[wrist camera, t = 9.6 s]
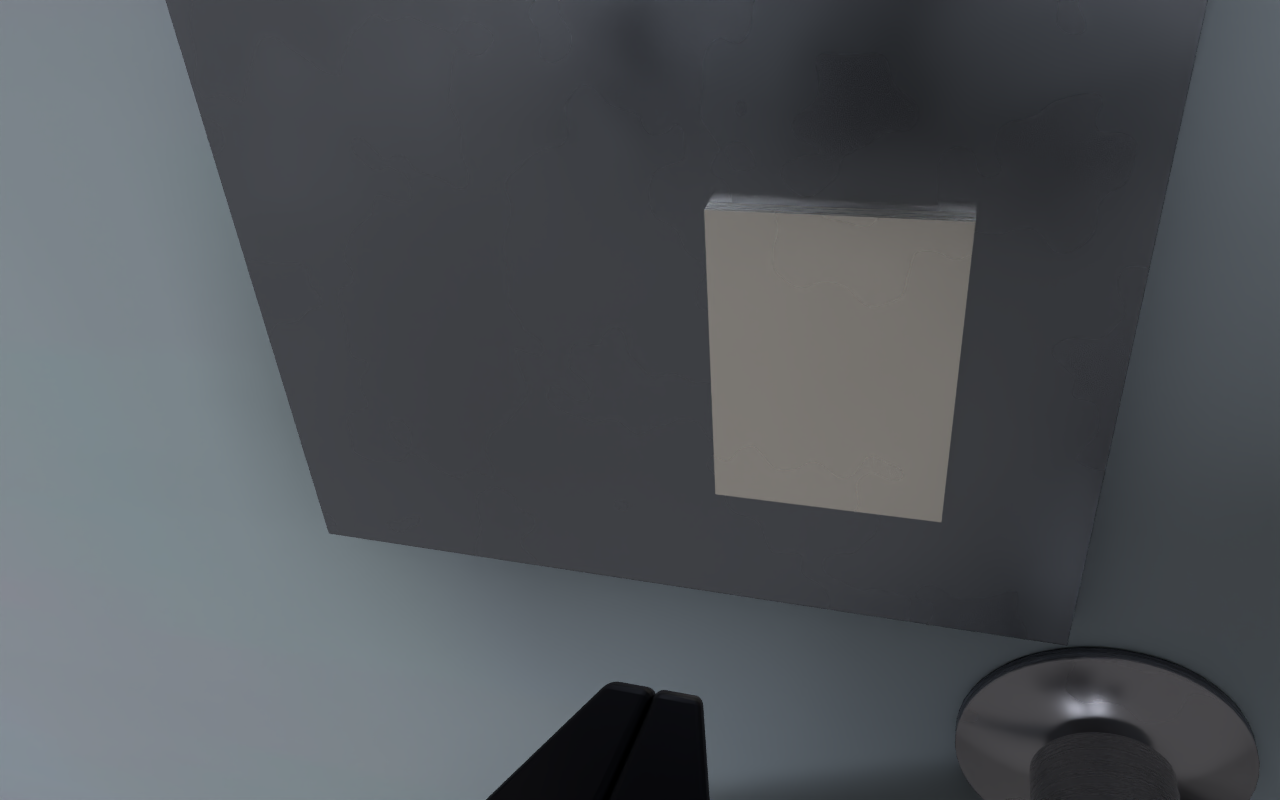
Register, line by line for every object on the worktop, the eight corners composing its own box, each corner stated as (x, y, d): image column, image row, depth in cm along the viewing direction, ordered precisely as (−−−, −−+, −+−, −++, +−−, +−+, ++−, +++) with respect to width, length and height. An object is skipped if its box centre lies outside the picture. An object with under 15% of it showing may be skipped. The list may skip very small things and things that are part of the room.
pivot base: (1218, 858, 19) (1221, 873, 19) (944, 804, 21) (943, 817, 20) (1290, 675, 17) (1294, 689, 16) (969, 627, 18) (969, 639, 18)
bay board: (1064, 620, 17) (1067, 659, 17) (344, 515, 21) (321, 542, 20) (1436, -1128, 8) (1483, -1219, 7) (-21, -729, 11) (-88, -758, 11)
